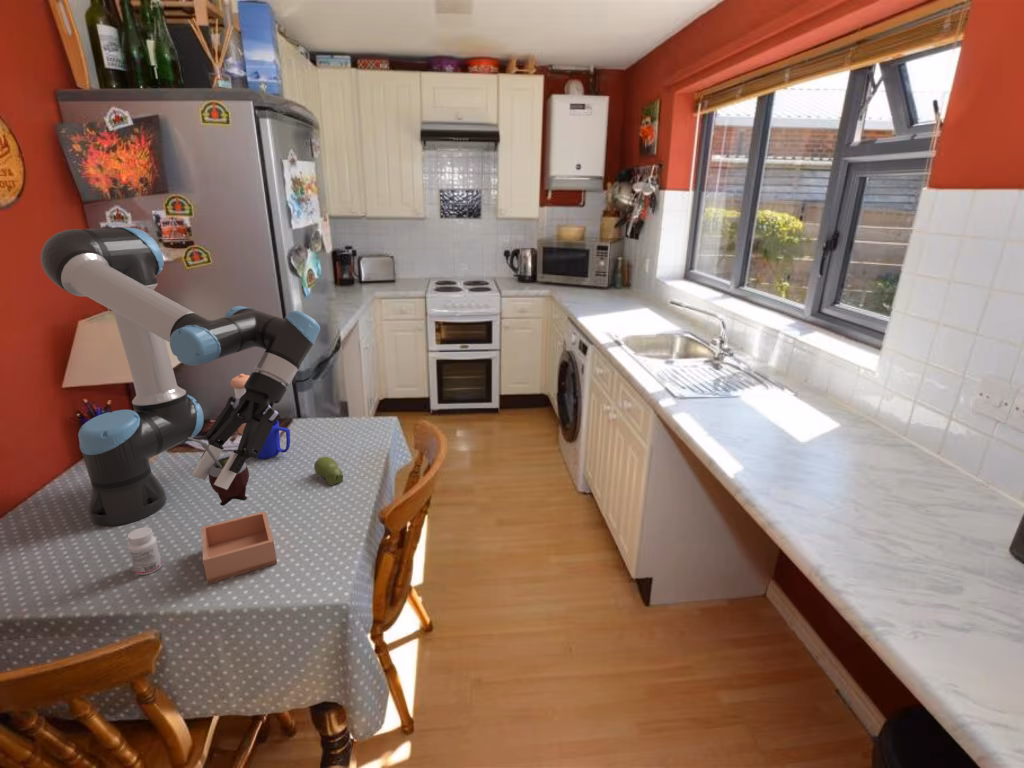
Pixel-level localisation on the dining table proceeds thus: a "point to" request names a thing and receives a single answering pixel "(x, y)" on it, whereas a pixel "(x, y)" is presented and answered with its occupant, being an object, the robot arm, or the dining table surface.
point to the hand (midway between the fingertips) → (209, 482)
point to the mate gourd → (236, 486)
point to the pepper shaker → (239, 391)
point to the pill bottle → (144, 551)
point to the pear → (328, 470)
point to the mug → (274, 442)
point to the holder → (237, 547)
